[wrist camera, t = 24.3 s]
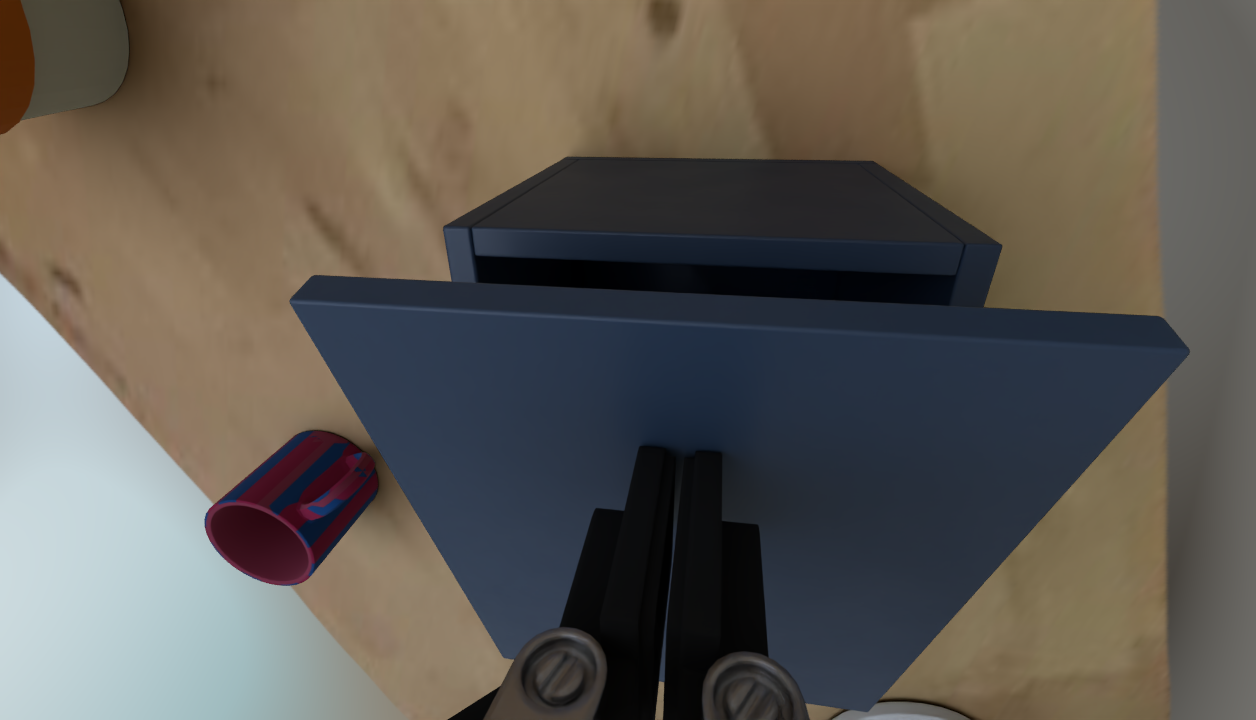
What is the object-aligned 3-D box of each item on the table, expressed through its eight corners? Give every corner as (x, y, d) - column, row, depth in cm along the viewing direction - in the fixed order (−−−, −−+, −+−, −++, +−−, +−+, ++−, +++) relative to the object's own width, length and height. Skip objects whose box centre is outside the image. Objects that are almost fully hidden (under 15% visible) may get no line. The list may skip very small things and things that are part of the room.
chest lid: (311, 273, 10) (285, 300, 9) (1163, 314, 8) (1195, 351, 7) (508, 636, 22) (502, 658, 22) (865, 688, 20) (868, 713, 20)
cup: (267, 446, 38) (181, 517, 32) (372, 400, 34) (298, 470, 28) (330, 517, 40) (260, 595, 34) (434, 480, 37) (378, 560, 31)
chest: (565, 156, 26) (440, 226, 14) (873, 160, 24) (1004, 245, 13) (582, 446, 33) (509, 637, 22) (815, 467, 31) (864, 688, 20)
